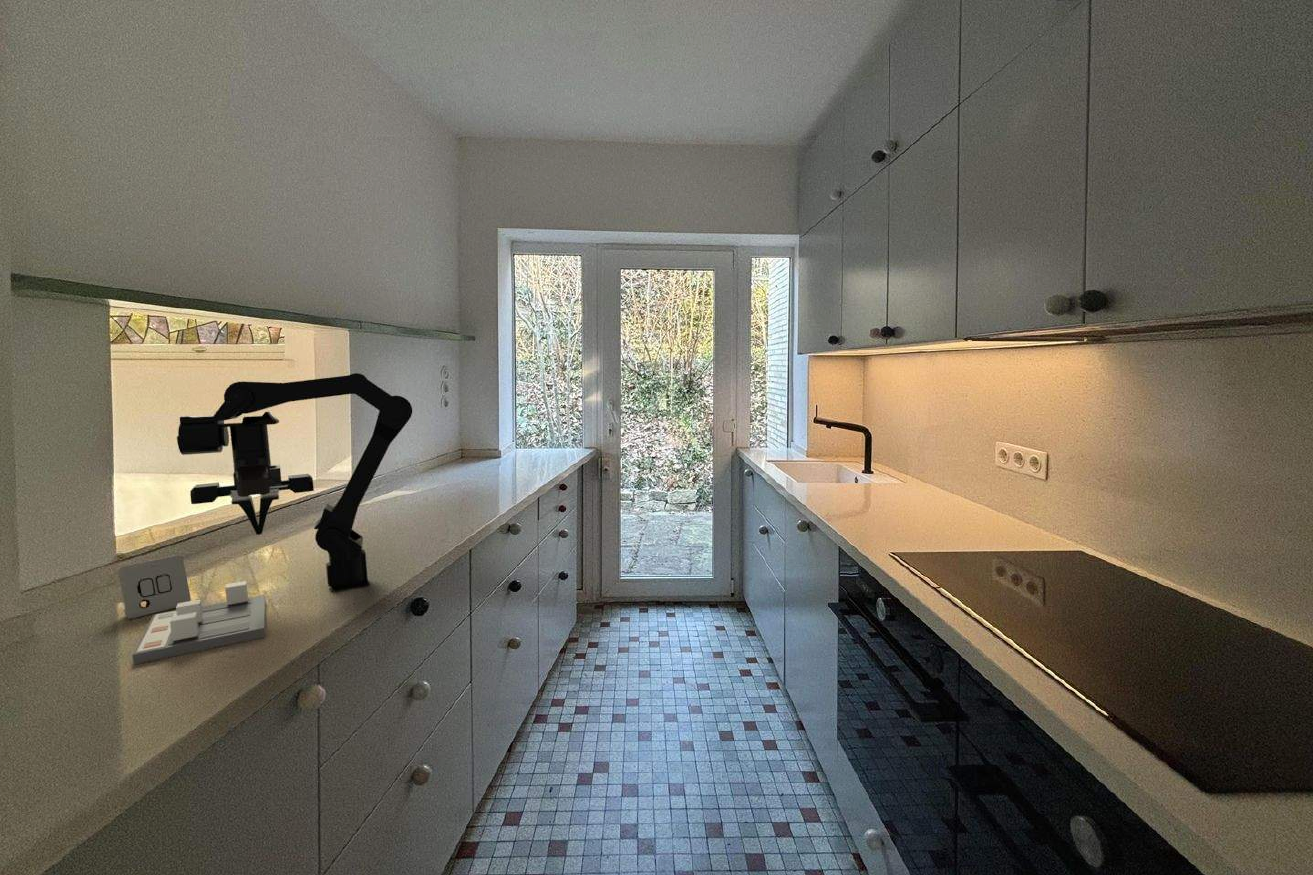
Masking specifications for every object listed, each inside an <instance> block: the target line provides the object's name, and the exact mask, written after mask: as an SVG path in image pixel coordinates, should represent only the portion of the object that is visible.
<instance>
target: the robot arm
mask: <svg viewBox="0 0 1313 875" xmlns="http://www.w3.org/2000/svg"><path fill="white" fill-rule="evenodd" d="M343 395H345V396H346V395H356V396H357V397H359V398H360V399H362V400H363V401H364V402H366V403H368V404H369V405H371V406H372V407H374V408H375V409H377V410H378V414H377V419H376V422H375V425H374V429H373V431H372V432H373V433H372V435H371V438H370V439H369V441H368V443H367V445H366V446H365V449H364V451H363V453H362V455H361V457H360V459H359V461H358V463H357V465H356V466H355V469H354V471H353V472H352V475H351V477H350V478H349V481H348V482H347V485H346V486H345V488H344V490H343V491H342V494H341V496H340V498H339V499H338V500H337V502H336V503H335V504H334V506H333V505H331V504H329V503H326V505H325V506H324V509H323V510H322V515H321V517H320V518H319V519H318V520H317V521H316V523H315V526H314V527H313V529H314V530H316V533H315V537H314V538H315V541H316V544H317V545H318V547H319V548H320V549H322V550H323V551H327V554H328V562H326V563H325V570H326V578H327V579H326V580H327V586H328V587H329V588H331V591H332V592H339V591H345V590H350V589H356V588H360V587H361V588H362V587H365V586H369V585H370V581H369V579H368V578H369V576H368V564H367V556H366V553H367V552H366V551H365V549H364V548H363V543H364V536H363V535H361V534H359V533H358V532H357V531H355V530H354V529H353V527H354V523H355V520H356V516H357V513H358V508H359V506H360V505H361V502H362V501H363V499H364V497H365V494H366V492H367V491H368V488H369V486H370V485H371V483H372V481H373V479H374V477H375V475H376V473H377V471H378V469H379V467H380V466H381V462H382V461H383V460H384V457H385V455H386V453H387V451H388V449H389V447H390V445H391V444H392V442H393V441H394V440H395V438H396V437H397V436H398V435H399V433H400V432H401V431H402V430H403V428H404V427H405V426H406V425H407V423H408V422H409V421H410V419H411V417H412V415H413V407H412V404H411V403H410V401H409V400H408V399H407V398H405V397H403V396H401V395H396V394H395V395H391V394H390V393H388V392H386V390H384V389H383V388H381V387H379V386H378V385H377V384H375V383H374V382H372V381H371V380H370V379H368V377H366V376H365V375H364V374H362V373H359V372H358V373H357V372H354V373H351V374H348V375H341V376H340V375H339V376H331V377H324V378H322V377H321V378H315V379H306V380H305V379H304V380H298V381H289V382H264V381H263V382H262V381H261V382H260V381H236V382H233V383H231V384H230V385H228V387H227V388H226V390H225V391H224V394H223V401H224V402H222V404H221V406H220V407H219V408H218V409H217V410H216V411H215V413H214V414H213V415H207V416H205V415H204V416H194V415H183V416H180V417H179V426H178V431H177V436H176V441H177V446H178V447H177V448H178V450H179V453H180V454H181V455H183V456H185V455H187V456H189V455H201V454H214V453H215V454H216V453H217V454H218V453H221V452H223V448H224V447H228V446H229V444H230V441H231V451H232V460H233V461H232V462H233V470H234V471H233V474H232V475H233V476H232V477H233V485H224V486H223V485H222V486H220V482H209V483H199V484H195V485H194V486H193V487H192V488H191V489H190V492H189V493H190V503H191V505H196V504H197V505H199V504H207V503H209V504H210V503H214V502H215V501H216V500H217V499H218V498H222V497H230V498H231V505H238V506H239V507H240V508H241V509H242V510H243V512H244V513H245V515H246V516H247V518H248V520H249V522H250V524H251V526H252V528H253V530H254V533H255V534H256V535H257V536H261V535H262V534H263V531H264V527H265V523H266V520H267V519H266V518H267V516H268V513H269V510H270V508H271V505H272V502H273V501H276V500H279V499H280V495H279V493H280V491H286V490H290V491H292V493H294V494H299V493H306V492H307V493H309V492H314V491H315V490H314V489H315V488H314V479H313V476H312V475H310V474H309V473H303V474H302V473H301V474H292V475H288V476H287V477H288V479H283V480H282V472H281V465H280V464H275V465H272V461H271V454H270V453H271V452H270V442H269V433H268V426H270V425H277V424H280V419H277V418H276V417H275V416H273V415H272V413H271V412H270V411H264V413H263V414H262V415H253V416H243V418H242V422H229V423H225V421H230V420H234V419H237V418H238V417H240V416H242V415H243V414H251V413H256V412H259V411H263V410H268V409H269V408H273V407H277V406H279V405H283V404H287V403H290V402H298V401H305V400H313V399H321V398H329V397H330V398H331V397H337V396H338V397H339V396H343ZM228 428H229V429H228ZM229 433H230V435H229ZM255 495H256V496H257V495H260V498H259V500H260V501H259V516H258V517H259V518H258V517H257V512H256V510H255V509H256V508H255V505H254V501H253V497H252V496H255Z"/></svg>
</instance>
